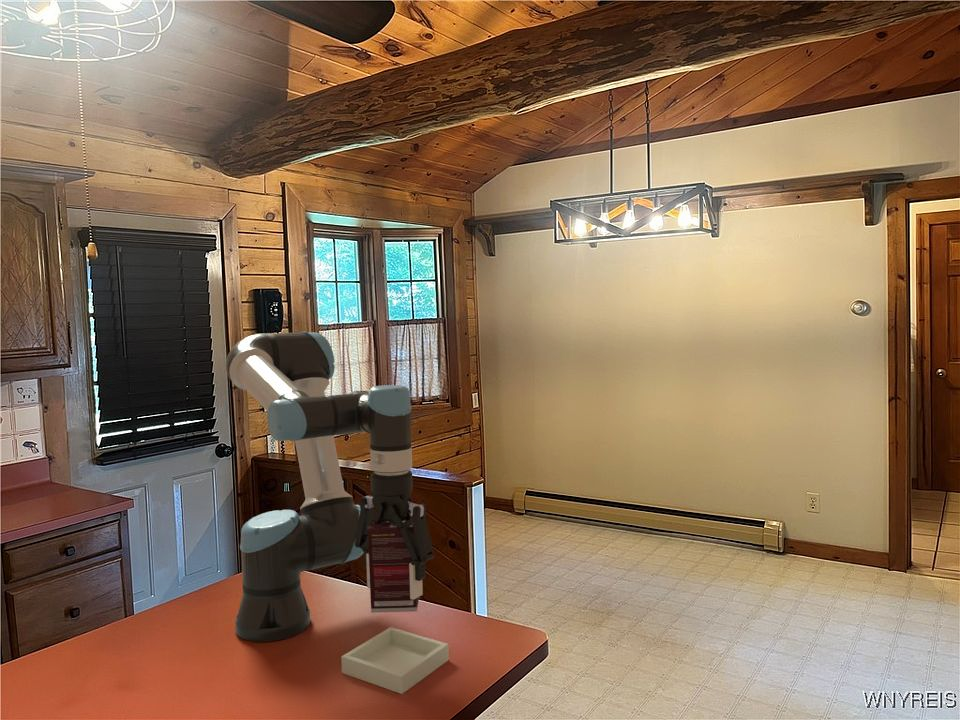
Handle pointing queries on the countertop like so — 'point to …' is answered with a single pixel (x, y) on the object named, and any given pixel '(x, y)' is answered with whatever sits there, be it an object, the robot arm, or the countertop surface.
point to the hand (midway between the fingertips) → (394, 591)
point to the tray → (395, 659)
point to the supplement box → (389, 569)
